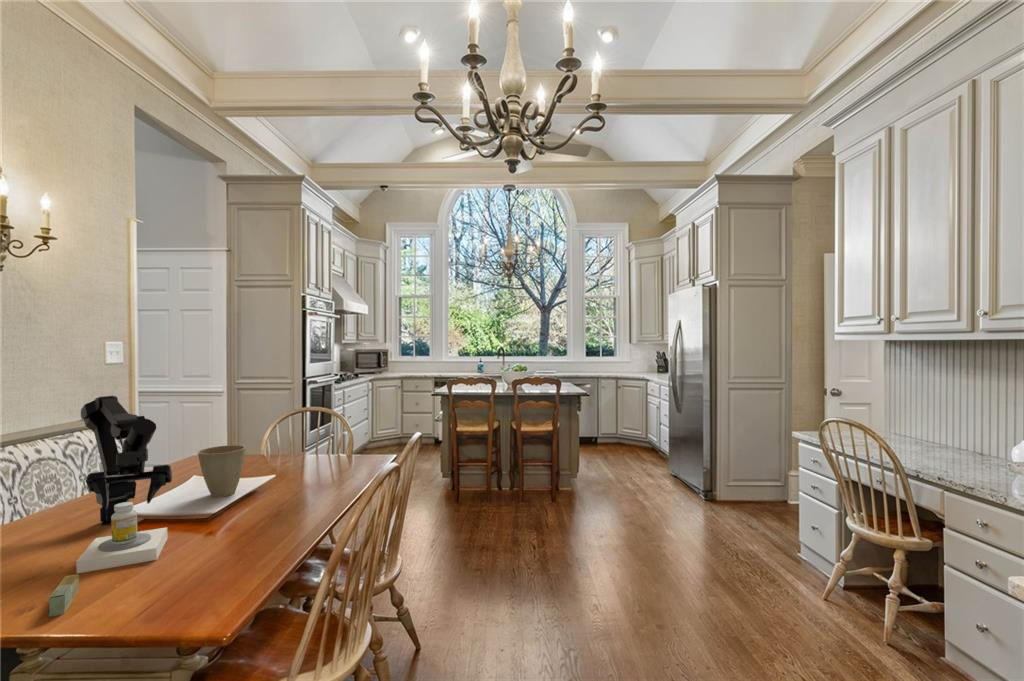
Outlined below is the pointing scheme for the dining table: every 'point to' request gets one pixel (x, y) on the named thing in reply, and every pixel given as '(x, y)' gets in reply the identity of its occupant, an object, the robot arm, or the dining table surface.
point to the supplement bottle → (124, 524)
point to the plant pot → (222, 468)
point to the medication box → (63, 595)
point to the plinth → (122, 551)
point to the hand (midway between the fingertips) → (127, 505)
